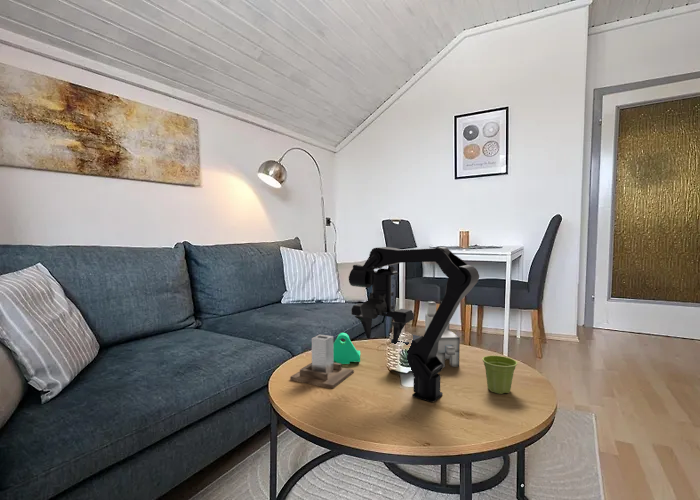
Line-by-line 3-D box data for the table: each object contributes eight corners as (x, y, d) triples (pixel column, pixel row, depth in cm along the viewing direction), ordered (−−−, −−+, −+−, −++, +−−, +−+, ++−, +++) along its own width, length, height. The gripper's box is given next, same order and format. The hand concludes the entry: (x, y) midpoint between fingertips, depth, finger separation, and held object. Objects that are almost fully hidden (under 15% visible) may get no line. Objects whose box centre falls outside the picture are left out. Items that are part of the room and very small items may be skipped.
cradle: (353, 372, 125) (353, 363, 125) (333, 388, 112) (333, 378, 112) (313, 365, 131) (313, 356, 131) (290, 379, 119) (290, 370, 119)
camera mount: (360, 357, 140) (360, 329, 140) (360, 364, 133) (360, 335, 132) (327, 356, 141) (327, 329, 140) (325, 364, 133) (325, 334, 133)
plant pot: (485, 381, 118) (485, 353, 117) (518, 387, 113) (519, 358, 113) (478, 392, 110) (479, 362, 109) (514, 399, 105) (514, 368, 105)
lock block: (333, 371, 123) (333, 335, 122) (325, 377, 118) (325, 339, 118) (319, 369, 125) (319, 333, 124) (311, 374, 120) (311, 337, 120)
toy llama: (440, 370, 127) (440, 310, 126) (424, 353, 145) (425, 300, 144) (462, 369, 128) (463, 309, 127) (444, 352, 145) (445, 300, 144)
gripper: (340, 289, 114) (340, 341, 114) (396, 296, 103) (395, 353, 103) (361, 285, 123) (361, 333, 123) (414, 290, 112) (414, 343, 112)
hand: (381, 340), depth 115 cm, fingers open, 9 cm apart
